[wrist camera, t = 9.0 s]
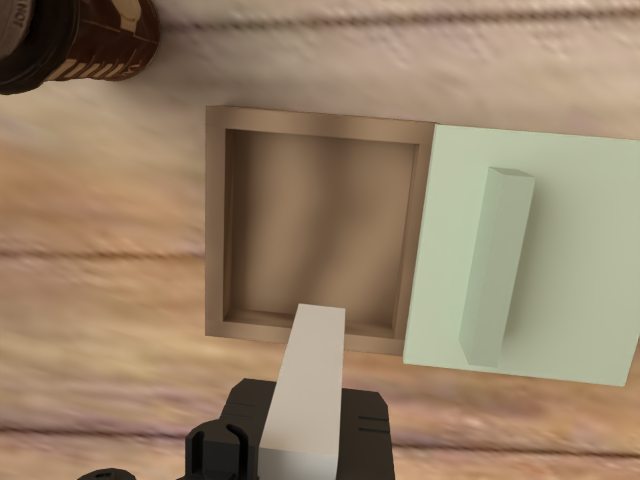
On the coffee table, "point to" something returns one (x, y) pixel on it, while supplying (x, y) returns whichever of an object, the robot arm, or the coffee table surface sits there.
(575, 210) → the lid
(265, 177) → the box
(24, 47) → the coffee cup
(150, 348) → the coffee table surface
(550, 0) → the coffee table surface
